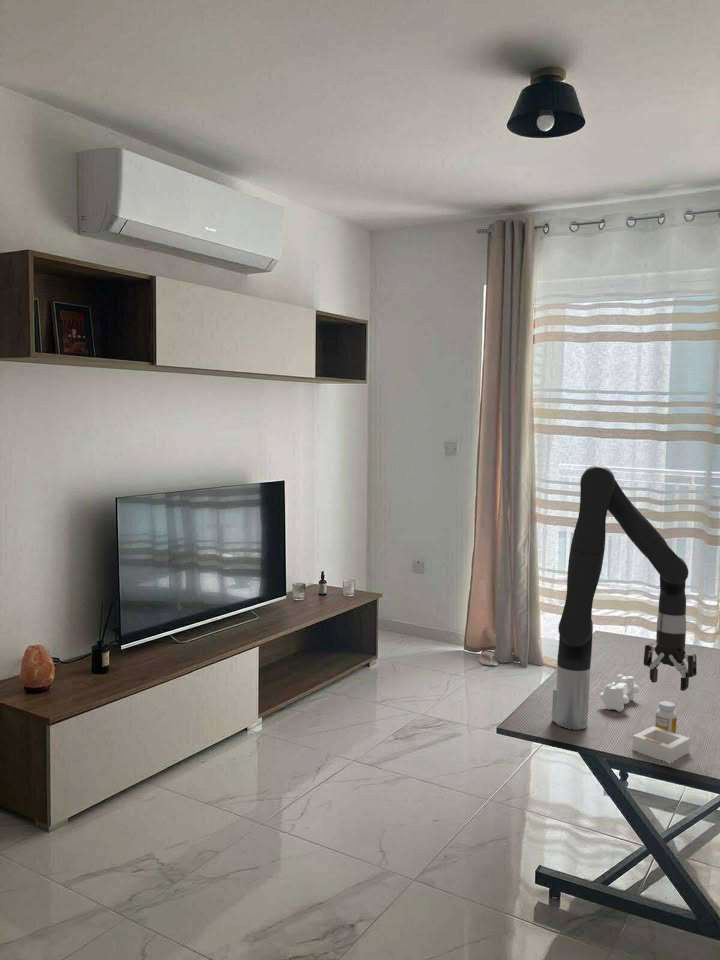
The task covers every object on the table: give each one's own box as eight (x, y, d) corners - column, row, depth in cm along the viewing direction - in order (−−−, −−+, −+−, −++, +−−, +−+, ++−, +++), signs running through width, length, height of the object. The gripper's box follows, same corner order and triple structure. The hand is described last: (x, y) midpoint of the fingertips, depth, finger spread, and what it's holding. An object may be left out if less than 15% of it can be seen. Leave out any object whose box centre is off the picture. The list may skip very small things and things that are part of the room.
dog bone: (613, 697, 256) (612, 671, 256) (641, 700, 251) (639, 674, 251) (598, 710, 244) (597, 684, 244) (627, 714, 239) (626, 687, 239)
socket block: (632, 750, 214) (633, 734, 213) (652, 740, 221) (653, 725, 220) (669, 763, 206) (670, 747, 205) (689, 752, 213) (690, 737, 212)
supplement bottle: (670, 733, 226) (672, 700, 225) (678, 741, 220) (680, 707, 219) (651, 733, 225) (653, 700, 225) (659, 741, 220) (661, 707, 219)
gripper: (640, 625, 223) (638, 682, 224) (689, 636, 212) (687, 696, 214) (653, 621, 228) (651, 676, 229) (702, 631, 217) (700, 690, 219)
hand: (668, 686), depth 222 cm, fingers open, 8 cm apart
